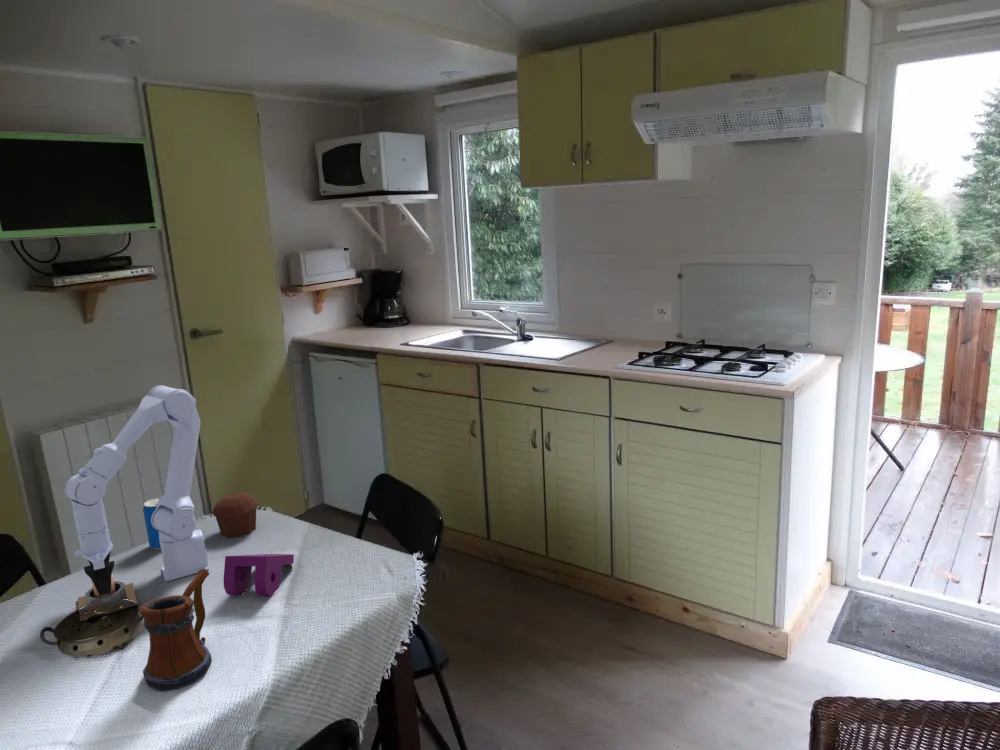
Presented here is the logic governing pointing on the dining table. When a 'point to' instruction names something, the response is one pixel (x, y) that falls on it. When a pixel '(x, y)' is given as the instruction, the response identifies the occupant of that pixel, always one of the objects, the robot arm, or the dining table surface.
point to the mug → (176, 638)
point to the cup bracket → (120, 594)
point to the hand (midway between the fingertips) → (104, 586)
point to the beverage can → (151, 531)
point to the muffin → (236, 514)
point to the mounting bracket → (265, 572)
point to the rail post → (105, 594)
